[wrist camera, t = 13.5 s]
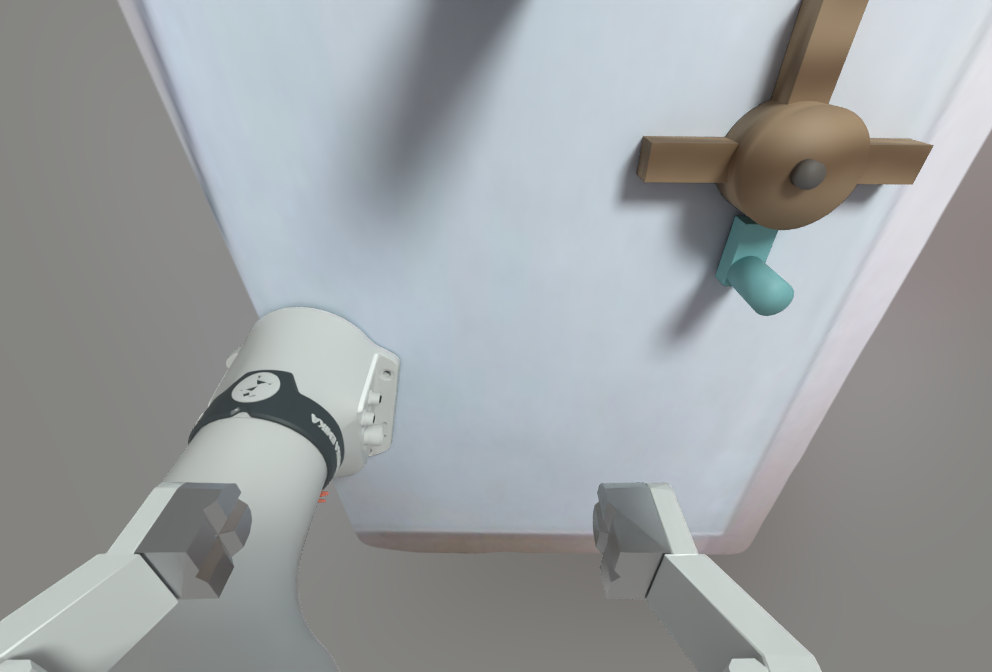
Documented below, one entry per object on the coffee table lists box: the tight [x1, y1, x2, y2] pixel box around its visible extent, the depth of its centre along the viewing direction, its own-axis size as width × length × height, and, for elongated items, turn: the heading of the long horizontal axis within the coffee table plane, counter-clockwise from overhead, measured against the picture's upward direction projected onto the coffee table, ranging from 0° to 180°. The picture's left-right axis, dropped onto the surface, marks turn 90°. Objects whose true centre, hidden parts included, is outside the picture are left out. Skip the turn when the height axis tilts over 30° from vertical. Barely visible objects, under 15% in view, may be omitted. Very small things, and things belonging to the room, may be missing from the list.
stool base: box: [637, 0, 933, 230], centre depth 33 cm, size 16×22×6 cm
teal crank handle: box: [715, 216, 794, 316], centre depth 39 cm, size 6×3×7 cm, turn 179°
